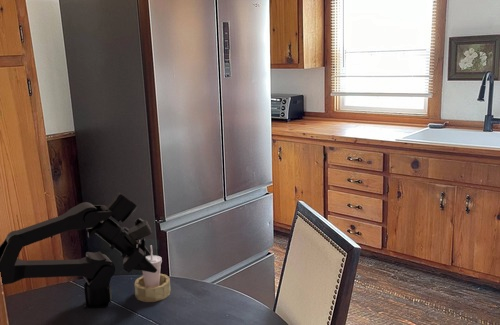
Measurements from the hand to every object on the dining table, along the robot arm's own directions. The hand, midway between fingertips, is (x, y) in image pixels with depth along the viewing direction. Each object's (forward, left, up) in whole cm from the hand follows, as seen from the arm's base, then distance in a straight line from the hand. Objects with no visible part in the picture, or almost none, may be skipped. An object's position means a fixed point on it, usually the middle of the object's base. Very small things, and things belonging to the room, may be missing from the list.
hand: (155, 266), depth 138 cm
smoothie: (-1, 0, -7) cm, 7 cm away
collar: (-1, 0, -8) cm, 8 cm away
